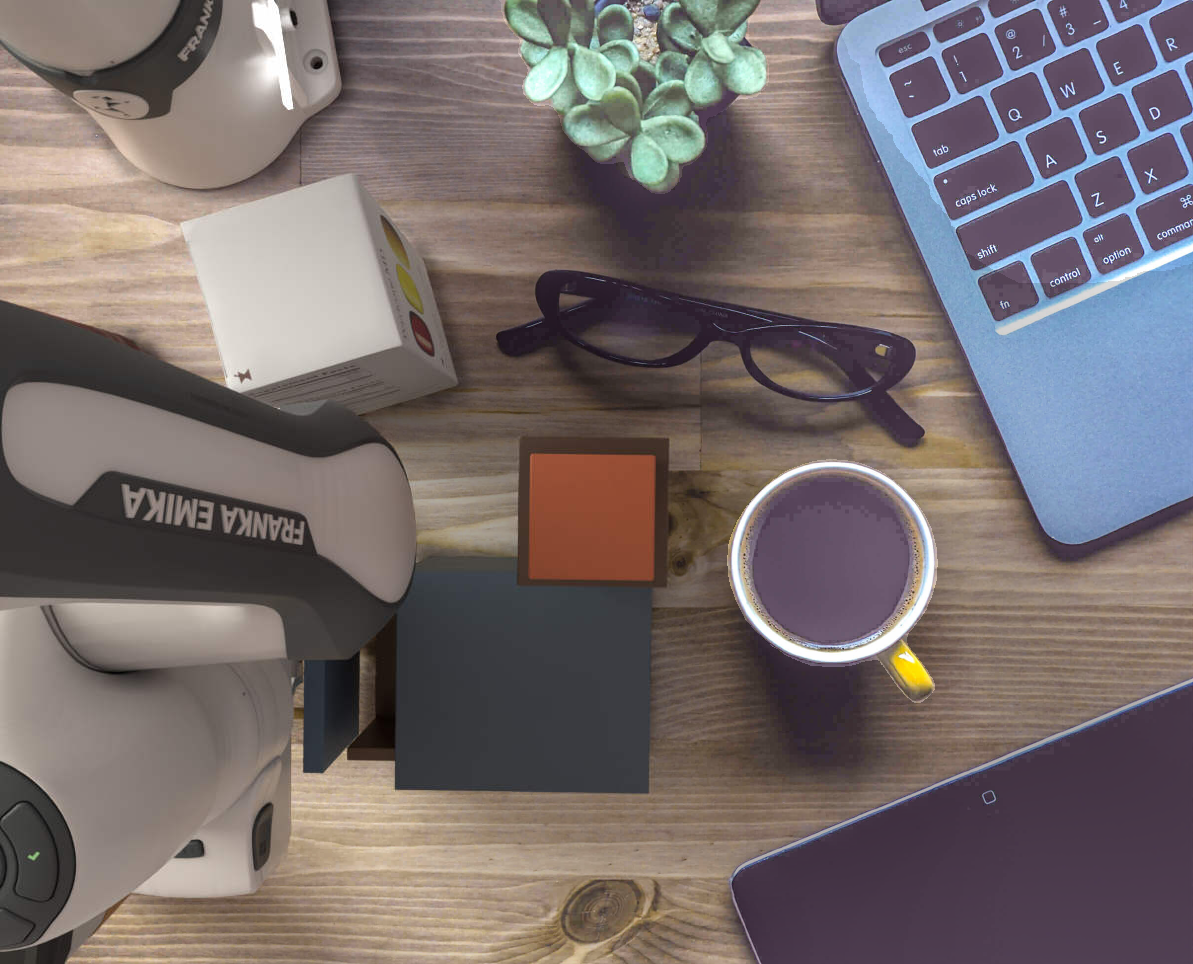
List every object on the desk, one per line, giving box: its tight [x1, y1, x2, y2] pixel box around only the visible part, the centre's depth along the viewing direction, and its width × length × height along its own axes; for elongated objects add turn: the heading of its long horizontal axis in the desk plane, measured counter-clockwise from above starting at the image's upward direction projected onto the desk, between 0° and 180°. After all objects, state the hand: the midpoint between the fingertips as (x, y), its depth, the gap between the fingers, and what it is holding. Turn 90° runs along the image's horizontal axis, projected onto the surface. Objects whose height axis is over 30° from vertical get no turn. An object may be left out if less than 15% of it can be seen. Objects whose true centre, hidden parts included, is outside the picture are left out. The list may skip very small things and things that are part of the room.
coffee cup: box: [0, 893, 132, 964], centre depth 54 cm, size 8×8×15 cm
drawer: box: [293, 612, 397, 774], centre depth 56 cm, size 18×11×8 cm, turn 89°
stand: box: [516, 435, 670, 589], centre depth 48 cm, size 6×6×25 cm
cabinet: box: [394, 555, 653, 795], centre depth 56 cm, size 15×13×10 cm
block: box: [529, 454, 656, 581], centre depth 33 cm, size 4×4×4 cm
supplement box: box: [179, 171, 459, 416], centre depth 52 cm, size 10×9×17 cm
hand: (291, 658), depth 57 cm, fingers closed
